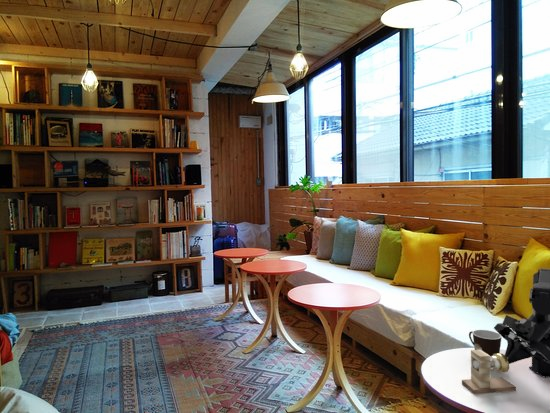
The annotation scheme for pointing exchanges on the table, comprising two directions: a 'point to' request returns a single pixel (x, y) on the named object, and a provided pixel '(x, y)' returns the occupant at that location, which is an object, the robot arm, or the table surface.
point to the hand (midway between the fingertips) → (504, 363)
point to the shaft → (496, 363)
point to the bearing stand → (485, 376)
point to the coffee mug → (486, 341)
